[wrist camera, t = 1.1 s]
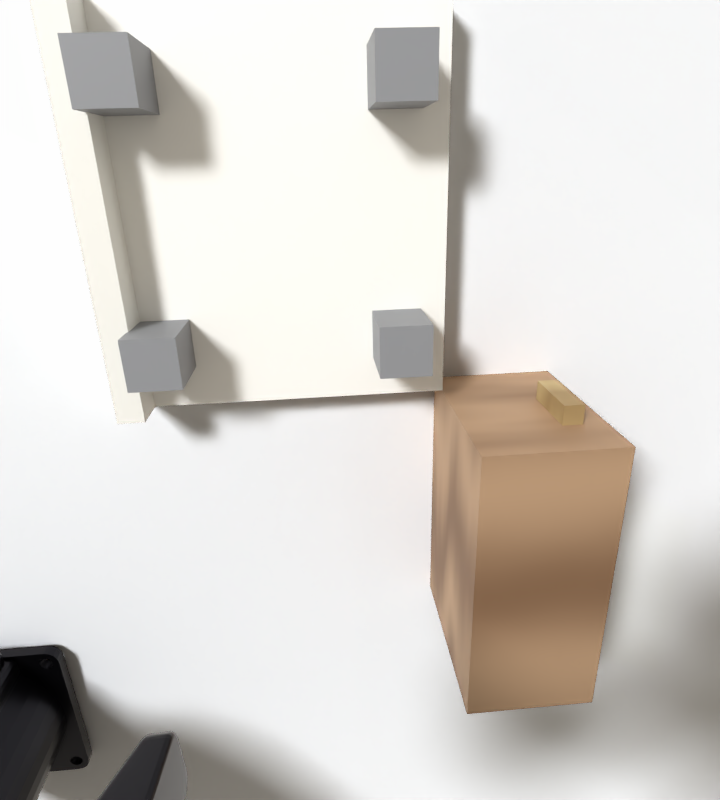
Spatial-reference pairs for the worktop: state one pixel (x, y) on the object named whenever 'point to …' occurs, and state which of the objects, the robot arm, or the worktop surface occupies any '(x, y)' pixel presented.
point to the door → (524, 537)
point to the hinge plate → (257, 192)
